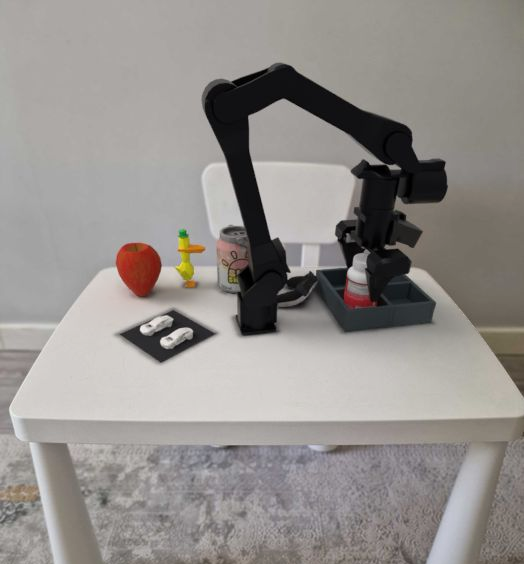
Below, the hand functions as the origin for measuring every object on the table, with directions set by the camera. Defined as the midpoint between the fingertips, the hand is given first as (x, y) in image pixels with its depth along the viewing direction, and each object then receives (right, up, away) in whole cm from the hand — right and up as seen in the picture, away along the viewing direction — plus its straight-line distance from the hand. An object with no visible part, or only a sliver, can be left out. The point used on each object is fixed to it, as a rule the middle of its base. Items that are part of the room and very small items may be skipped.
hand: (363, 289), depth 83 cm
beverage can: (-23, +2, +13) cm, 27 cm away
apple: (-43, 0, +9) cm, 44 cm away
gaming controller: (-12, -1, +9) cm, 15 cm away
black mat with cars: (-35, -8, -3) cm, 36 cm away
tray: (+3, -2, +7) cm, 8 cm away
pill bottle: (0, -4, +3) cm, 5 cm away
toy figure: (-34, +2, +13) cm, 36 cm away
